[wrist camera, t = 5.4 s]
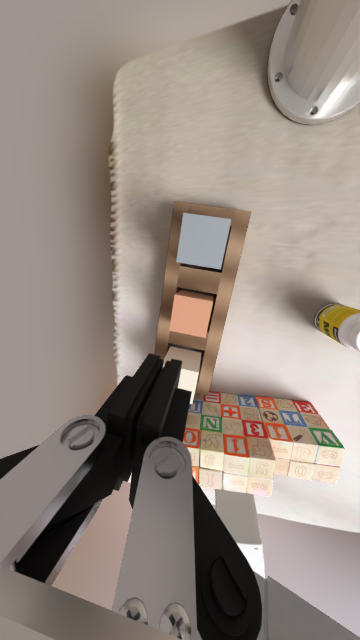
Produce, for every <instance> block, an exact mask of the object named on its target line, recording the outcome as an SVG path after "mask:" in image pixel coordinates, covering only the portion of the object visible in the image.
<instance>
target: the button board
mask: <svg viewBox="0 0 360 640" xmlns="http://www.w3.org/2000/svg"><path fill="white" fill-rule="evenodd" d="M183 213H189V214H196V215H204V216H211V217H218V218H226V219H231V223H230V228H229V230H230V232H229V236H228V241H227V246H226V250H225V255H224V260H223V265H222V269H221V272H215V271H209V270H203V269H197V268H191V267H185V266H183V263H179V262H176V260H177V254H178V247H179V240H180V233H181V226H182V219H183ZM250 215H251V211H244V210H237V209H229V208H221V207H213V206H206V205H198V204H190V203H183V202H175V201H174V208H173V216H172V223H171V231H170V239H169V246H168V254H167V262H166V269H165V277H164V285H163V292H162V300H161V307H160V315H159V323H158V330H157V338H156V346H155V353H154V355H159V356H161V359H163V360H164V358H165V356H166V354H167V353H168V351H169V349H170V345H171V343H172V344H176V345H181V346H186V347H191V348H195V349H200V350H204V354H203V359H202V364H201V368H200V373H199V375H198V380H197V384H196V389H195V393H197V394H202V395H206V396H208V393H209V389H210V385H211V380H212V376H213V372H214V368H215V363H216V359H217V355H218V351H219V346H220V342H221V338H222V334H223V329H224V325H225V321H226V317H227V312H228V308H229V304H230V300H231V295H232V291H233V287H234V283H235V279H236V274H237V270H238V266H239V262H240V257H241V253H242V249H243V245H244V240H245V236H246V232H247V228H248V223H249V219H250ZM179 288H185V289H191V290H196V291H202V292H207V293H213V294H216V298H215V302H214V307H213V312H212V316H211V321H210V326H209V327H208V329H207V333H206V338H203V337H198V336H193V335H189V334H184V333H179V332H174V331H169V329H170V322H171V316H172V309H173V302H174V295H175V294H176V293H177V292H179Z"/></svg>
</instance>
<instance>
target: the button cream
mask: <svg viewBox="0 0 360 640" xmlns="http://www.w3.org/2000/svg"><path fill="white" fill-rule="evenodd" d="M171 359H176V360H181V361H182V367H181V373H180V379H179V384H178V388H180V389H184V390H188V391H192V394H191V399H190V404H192V403H193V399H194V394H195V389H196V384H197V380H198V375H199V368H200V360H201V353H200V352H195V351H191V350H186V349H181V348H177V347H172V346H171V347H170V349H169V351H168V353H167V354H166V356H165V358H164V365H165V363H166V361H171ZM164 365H163V367H164Z"/></svg>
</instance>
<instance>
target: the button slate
mask: <svg viewBox="0 0 360 640" xmlns="http://www.w3.org/2000/svg"><path fill="white" fill-rule="evenodd" d="M230 223H231V219H226V218H218V217H211V216H204V215H196V214H189V213H183V219H182V226H181V233H180V240H179V247H178V254H177V260H176V262H179V263H185V264H191V265H197V266H203V267H209V268H215V269H221V266H222V261H223V257H224V252H225V247H226V242H227V238H228V233H229V228H230Z"/></svg>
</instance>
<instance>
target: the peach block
mask: <svg viewBox="0 0 360 640" xmlns="http://www.w3.org/2000/svg"><path fill="white" fill-rule="evenodd" d="M212 305H213V295H211V294H205V293H199V292H194V291H188V290H183V289H181V290H180V291H179V292H177V293H176V294H175V295H174V302H173V309H172V316H171V322H170V329H169V331H174V332H179V333H184V334H189V335H193V336H198V337H203V338H206V333H207V329H208V324H209V319H210V314H211V310H212Z"/></svg>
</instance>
